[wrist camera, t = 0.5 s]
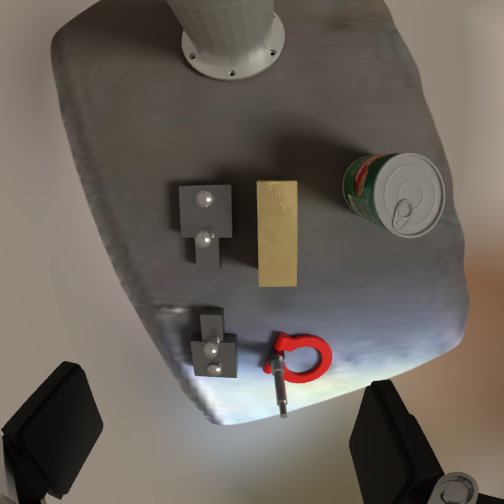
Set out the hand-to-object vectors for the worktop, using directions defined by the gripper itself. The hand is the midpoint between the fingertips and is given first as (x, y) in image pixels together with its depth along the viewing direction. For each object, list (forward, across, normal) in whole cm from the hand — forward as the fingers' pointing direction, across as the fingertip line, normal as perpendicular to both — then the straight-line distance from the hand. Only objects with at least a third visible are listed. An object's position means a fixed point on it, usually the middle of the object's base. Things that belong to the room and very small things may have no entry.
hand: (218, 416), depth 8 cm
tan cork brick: (+29, -3, -2) cm, 29 cm away
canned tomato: (+29, -15, -7) cm, 33 cm away
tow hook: (+30, -7, +18) cm, 35 cm away
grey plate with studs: (+29, +5, +7) cm, 30 cm away
